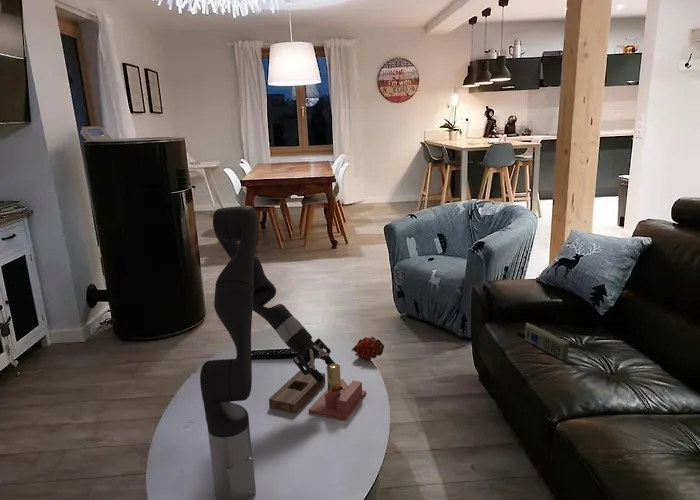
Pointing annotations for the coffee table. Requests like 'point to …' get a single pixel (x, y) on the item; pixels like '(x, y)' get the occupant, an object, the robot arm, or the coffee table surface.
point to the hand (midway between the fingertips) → (328, 374)
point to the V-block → (339, 401)
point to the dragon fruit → (369, 348)
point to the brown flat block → (295, 392)
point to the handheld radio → (545, 341)
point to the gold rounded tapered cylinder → (333, 377)
